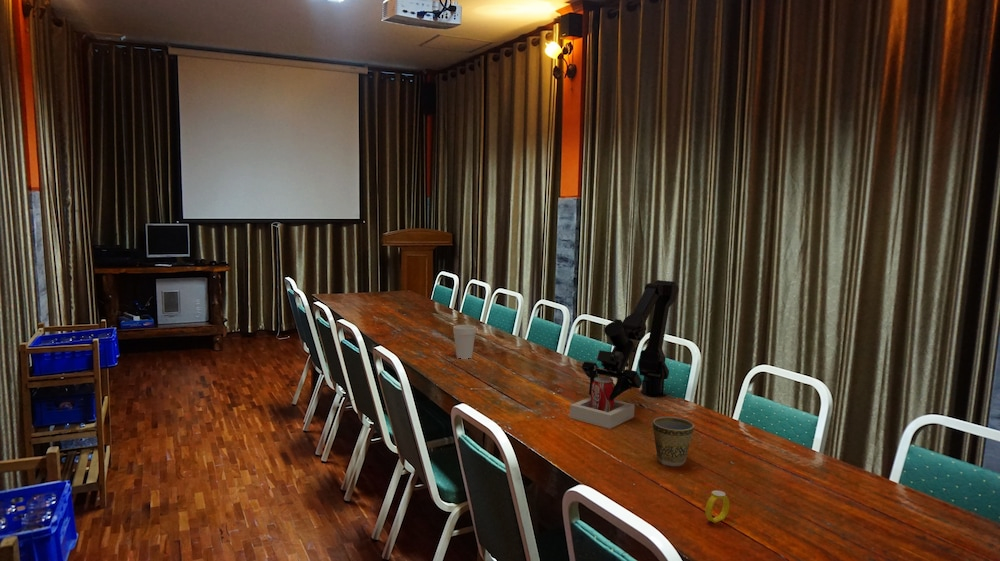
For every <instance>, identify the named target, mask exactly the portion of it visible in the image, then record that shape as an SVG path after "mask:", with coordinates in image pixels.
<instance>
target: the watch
mask: <svg viewBox="0 0 1000 561" xmlns="http://www.w3.org/2000/svg"><path fill="white" fill-rule="evenodd" d="M710 495H711V496H710V497H709V498H708V499H707V502H706V504H705V512H704V513H705V516H706V519H708V520H709V521H710V522H712V523H714V524H716V523H718V522H721V521H724V520H725V519H726V517H727V515H728V514H729V511H730V506H731V505H730V503H731V502H730V499H729V497H728V496H727V495H726V493H725V492H724V491H722V490H716V489H715V490H712V491H711V494H710ZM717 500H722V501H723V502H722V503H723V504H722V507H721V511H720V512H719V514H718V515H717V516H715V517H713V515H712V512H713V507H714V504H715V503H716V502H717ZM708 520H707V521H708Z"/></svg>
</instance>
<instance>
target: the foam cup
mask: <svg viewBox="0 0 1000 561" xmlns="http://www.w3.org/2000/svg"><path fill="white" fill-rule="evenodd" d="M452 333H453V337H454V345H455V354H456V359H458V358H461V359H460V360H464V359H465V360H469V359H468V358H471V359H472V358H473V353H474V351H473V350H474V345H475V339H476V334H477V327H476V326H475V325H471V324H457V325H454V326H453V328H452Z"/></svg>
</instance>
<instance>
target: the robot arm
mask: <svg viewBox="0 0 1000 561" xmlns="http://www.w3.org/2000/svg"><path fill="white" fill-rule="evenodd" d="M679 290H680V288H679V285H677V282H675V281H670V280H662V279H661V280H660V279H657V280H656V281H654V282H648V283H646V284H645V287H644V291H643V293H642V295H641V297H640V298H639V300H638V302H637V304H636V305H635V308H634V309H633V312H632V313H631V314H629V315H628V316H626V317H625V318H624V319H623V321H622V319H618V318H615V319H614V321H612V322H610V323H608V324H606V325H605V327H604V329H603V330H604V331H603V332H604V334H605V336H606V338H607V339H608V341H609V343H610V345H611V346H613V348H612V351H607V350H601V349H600V350H598V355H597V358H596V361H597V362H600V365H601V367H599V366H598V364H597V363H596V362H592V361H588V360H586V361H584V362H583V363H582V364H581V369H582V371H583V372H584V374H585V375H586V376H587V377H588V378H589V391H588V395H589V396H590V397H591V388H592V383H593V381H594V378H595V377H601V376H603V377H609V378H613V379H616V383H615V384H614V385H615V387H614V389H613V391H612V394H611V396H610V398H609V399H610V401H612V400H613V399H615V400H616V398H617V397H619V396H620V395H622V394H623V393H625V392H626V391H628V390H631V389H632V388H635V389H640V388H641V390H640V392H641V393H642V394H644V395H645V396H648V397H652V398H653V397H662V396H667V393H665V392H664V391H665V390H664V389H665V380H668V378H669V376H670V370H669V368H668V366H667V363H666V355H665V353H664V351H663V346H664V340H665V334H666V327H667V323H668V316H669V311H670V307H671V306H672V305H673V304H674V303H675V302H676V300H677V295H678V294H679ZM653 308H654V309H653ZM652 310H653V315H652V319H651V320H652V321H651V326H650V330H649V331H650V332H649V337H648V342H647V346H646V348H644V349H642V350H641V351H640V356H639V359H638V364H637V366H638V372H637V370H632V369H628V367H629V363H628V362H629V359H630V358H631V355H632V353H636V352H637V348H636V344H635V343H634V342H635V341H637V342H640V341H642V340H643V338H644V337H645V335H646V331H647V325H646V322H647V320H648V318H649V316H650V314H651V312H652ZM633 341H634V342H633ZM625 368H626V369H625ZM640 376H643V380H642V379H641V377H640Z"/></svg>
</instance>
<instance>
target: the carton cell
mask: <svg viewBox="0 0 1000 561" xmlns="http://www.w3.org/2000/svg"><path fill="white" fill-rule="evenodd" d="M633 418H635V404H633V403H629V402H625V401H621V400H616V399H615V401H614V410H612V411H610V412H605V411H601V410H597V409H593V408H591V396H590V397H586V398H584V399H582V400H580V401H577V402H575V403H572V404H570V405H569V419H572V420H576V421H581V422H583V423H588V424H591V425H595V426H598V427H601V428H605V429H609V430H610V429H613V428H615V427H617V426H619V425H620V424H622V423H625V422H628V421H629V420H631V419H633Z"/></svg>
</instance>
